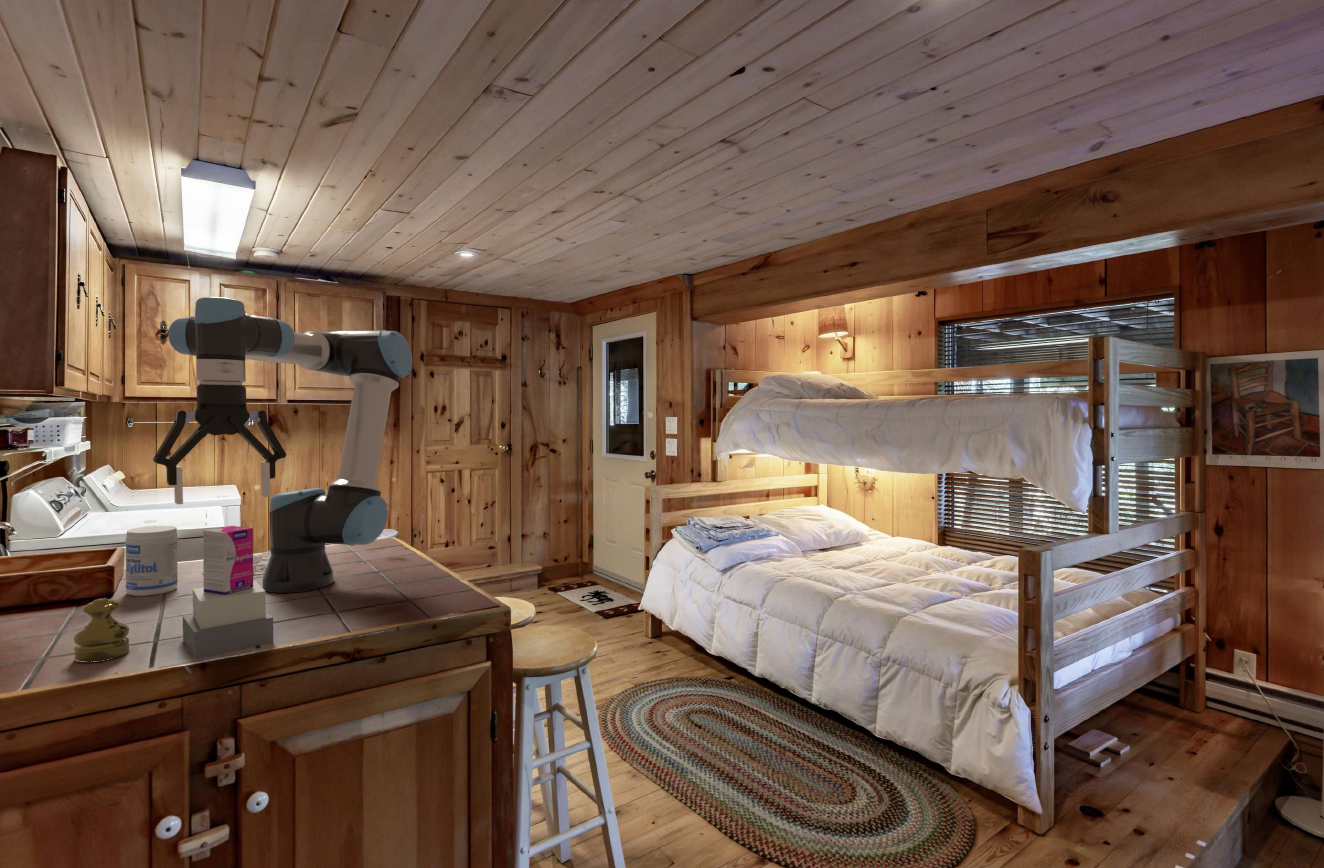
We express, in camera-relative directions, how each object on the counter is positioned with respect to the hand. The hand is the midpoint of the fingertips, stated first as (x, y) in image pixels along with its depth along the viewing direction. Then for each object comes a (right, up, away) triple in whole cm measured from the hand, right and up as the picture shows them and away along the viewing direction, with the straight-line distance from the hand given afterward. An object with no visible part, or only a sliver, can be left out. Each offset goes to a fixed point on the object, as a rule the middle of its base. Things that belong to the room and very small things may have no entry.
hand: (224, 499), depth 121 cm
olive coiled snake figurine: (-17, -27, -6) cm, 32 cm away
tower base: (0, -27, +2) cm, 27 cm away
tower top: (0, -22, +2) cm, 22 cm away
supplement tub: (-38, -25, +33) cm, 56 cm away
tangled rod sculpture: (-28, -24, +52) cm, 64 cm away
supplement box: (0, -17, +1) cm, 17 cm away
